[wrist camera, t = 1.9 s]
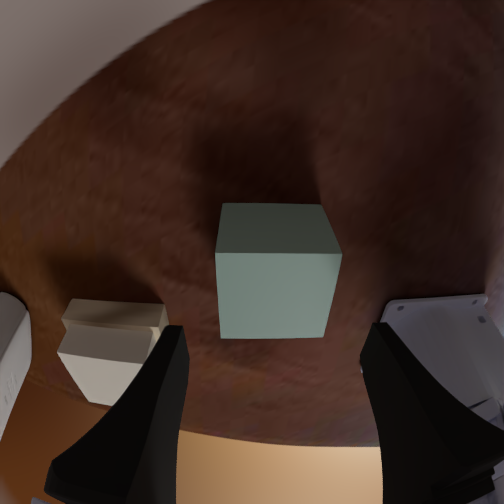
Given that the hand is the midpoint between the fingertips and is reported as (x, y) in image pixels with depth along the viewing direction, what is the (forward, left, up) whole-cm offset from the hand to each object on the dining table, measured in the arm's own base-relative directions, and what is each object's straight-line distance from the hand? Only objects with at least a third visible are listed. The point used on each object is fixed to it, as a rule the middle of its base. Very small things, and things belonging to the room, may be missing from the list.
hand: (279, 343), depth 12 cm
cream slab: (+10, +8, -5) cm, 14 cm away
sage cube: (0, 0, -7) cm, 7 cm away
